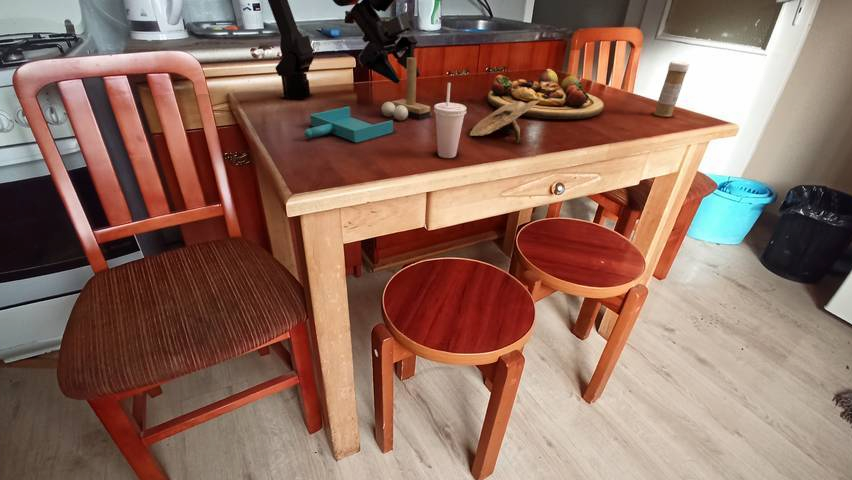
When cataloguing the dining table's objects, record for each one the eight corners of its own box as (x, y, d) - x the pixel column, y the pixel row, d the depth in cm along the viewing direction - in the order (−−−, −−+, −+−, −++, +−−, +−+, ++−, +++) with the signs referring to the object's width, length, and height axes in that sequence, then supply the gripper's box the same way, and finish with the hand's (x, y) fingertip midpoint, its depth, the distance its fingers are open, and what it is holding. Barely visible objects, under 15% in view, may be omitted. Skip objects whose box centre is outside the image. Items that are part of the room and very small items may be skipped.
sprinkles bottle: (662, 112, 125) (679, 60, 118) (675, 117, 122) (694, 63, 114) (649, 113, 124) (666, 60, 116) (662, 118, 120) (680, 64, 113)
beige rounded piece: (379, 117, 114) (379, 102, 112) (384, 113, 117) (383, 99, 114) (393, 119, 113) (393, 104, 111) (397, 115, 116) (397, 100, 114)
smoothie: (429, 149, 95) (433, 79, 87) (459, 149, 96) (465, 79, 88) (433, 160, 90) (437, 86, 82) (464, 160, 90) (471, 87, 82)
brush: (419, 119, 113) (421, 62, 105) (391, 111, 119) (391, 56, 111) (429, 116, 115) (432, 60, 108) (402, 108, 121) (403, 54, 113)
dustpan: (349, 117, 113) (348, 106, 111) (393, 132, 104) (393, 120, 103) (285, 132, 102) (283, 120, 100) (328, 150, 93) (327, 137, 91)
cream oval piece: (391, 121, 111) (391, 106, 109) (395, 117, 114) (395, 103, 112) (405, 122, 110) (406, 107, 108) (409, 118, 113) (409, 104, 111)
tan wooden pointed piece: (463, 157, 110) (453, 126, 107) (510, 135, 114) (501, 104, 111) (504, 154, 93) (493, 117, 91) (557, 128, 97) (548, 93, 95)
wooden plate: (473, 112, 120) (476, 79, 116) (500, 88, 145) (504, 60, 140) (598, 128, 111) (607, 93, 106) (604, 100, 135) (612, 70, 131)
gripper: (366, 2, 99) (408, 62, 100) (411, -1, 112) (447, 52, 114) (341, 38, 107) (380, 94, 108) (386, 31, 120) (420, 81, 121)
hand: (408, 79), depth 113 cm, fingers open, 9 cm apart
